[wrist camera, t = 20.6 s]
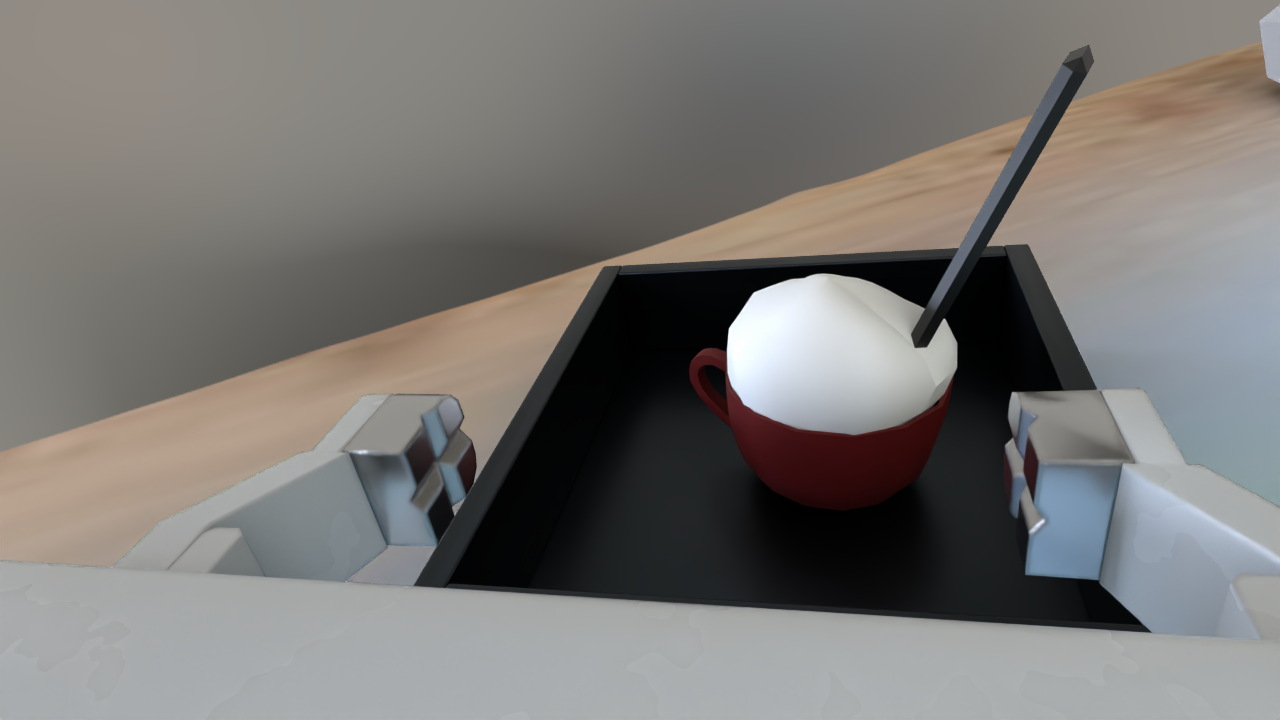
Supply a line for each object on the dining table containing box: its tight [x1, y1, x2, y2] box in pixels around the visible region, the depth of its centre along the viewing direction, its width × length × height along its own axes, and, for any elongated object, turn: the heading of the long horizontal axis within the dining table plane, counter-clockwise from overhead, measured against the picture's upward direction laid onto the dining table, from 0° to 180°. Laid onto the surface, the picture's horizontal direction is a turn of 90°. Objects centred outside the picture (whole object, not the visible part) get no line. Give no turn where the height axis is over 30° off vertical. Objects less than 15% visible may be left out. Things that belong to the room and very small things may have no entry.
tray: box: [414, 244, 1152, 633], centre depth 24 cm, size 16×18×4 cm
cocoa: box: [689, 45, 1094, 511], centre depth 21 cm, size 10×6×12 cm, turn 37°
